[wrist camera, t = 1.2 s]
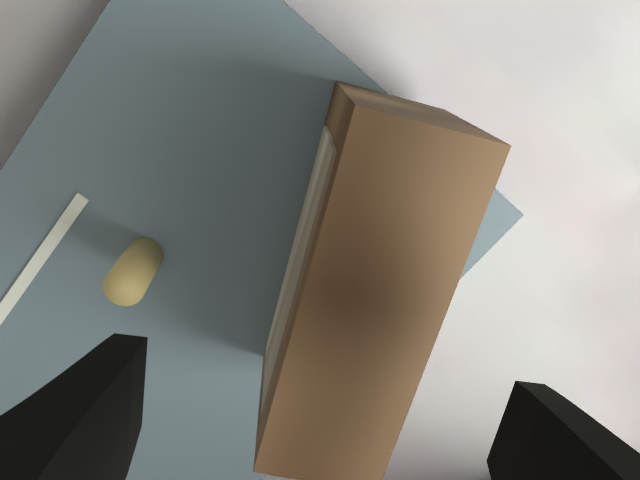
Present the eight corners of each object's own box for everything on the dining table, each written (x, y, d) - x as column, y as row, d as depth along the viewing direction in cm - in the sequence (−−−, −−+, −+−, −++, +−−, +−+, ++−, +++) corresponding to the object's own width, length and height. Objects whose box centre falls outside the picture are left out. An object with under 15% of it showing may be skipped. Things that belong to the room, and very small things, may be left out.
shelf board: (510, 204, 19) (557, 242, 16) (149, 573, 25) (127, 659, 22) (181, -88, 16) (149, -122, 12) (-153, 425, 21) (-239, 502, 18)
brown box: (444, 109, 17) (511, 145, 12) (355, 374, 20) (376, 492, 15) (332, 79, 16) (350, 103, 11) (260, 356, 20) (249, 471, 15)
